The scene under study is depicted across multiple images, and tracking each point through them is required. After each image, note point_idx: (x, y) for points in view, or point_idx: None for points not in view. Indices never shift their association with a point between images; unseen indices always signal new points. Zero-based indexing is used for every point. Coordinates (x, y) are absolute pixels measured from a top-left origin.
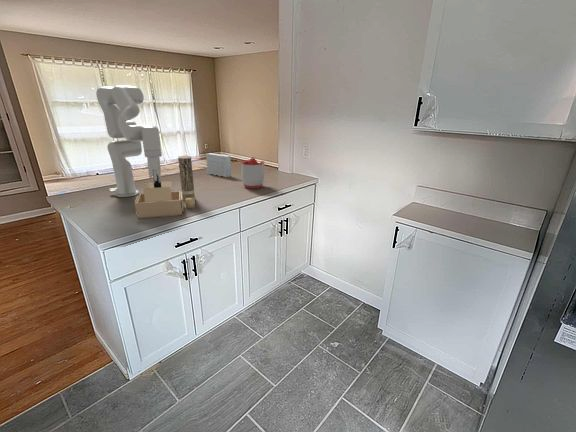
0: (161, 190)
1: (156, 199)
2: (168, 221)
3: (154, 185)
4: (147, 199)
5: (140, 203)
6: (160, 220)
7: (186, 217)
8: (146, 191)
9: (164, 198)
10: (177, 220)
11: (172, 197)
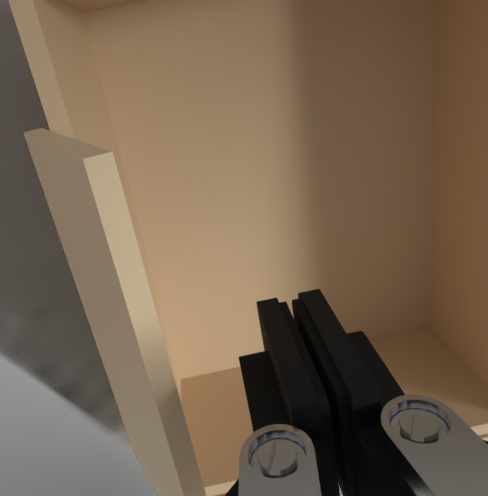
0: (156, 452)
1: (83, 304)
2: (13, 316)
3: (280, 374)
4: (43, 181)
5: (24, 47)
6: (34, 243)
7: (115, 422)
8: (77, 206)
9: (119, 398)
10: (42, 377)
11: (476, 308)
